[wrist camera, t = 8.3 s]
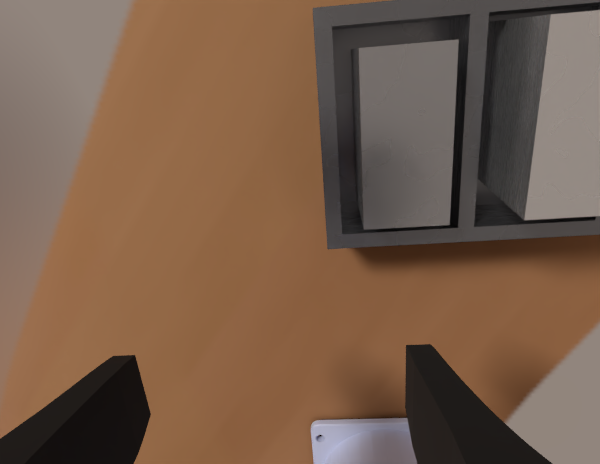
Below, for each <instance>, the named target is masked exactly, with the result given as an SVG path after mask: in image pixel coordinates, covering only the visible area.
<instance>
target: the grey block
mask: <svg viewBox="0 0 600 464" xmlns="http://www.w3.org/2000/svg"><path fill="white" fill-rule="evenodd" d="M477 179H478V180H479V181H480V182H482V183H483V184H484V185H485V186H486V187H487V188H488V189H489V190H491V191H492V192H493V193H494V194H495V195H496V196H497V197H499V198H500V199H501V200H502V201H503V202H504V203H505V204H506V205H508V206H509V207H510V208H511V209H512V210H513V211H514V212H516V213H517V214H518V215H519V216H520V217H521V218H522V219H523V220H538V219H555V218H573V217H591V216H600V10H595V11H584V12H572V13H561V14H550V15H542V16H533V17H525V18H516V19H508V20H500V21H491V22H488V36H487V50H486V65H485V79H484V93H483V107H482V121H481V135H480V149H479V163H478V177H477Z"/></svg>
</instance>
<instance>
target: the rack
mask: <svg viewBox="0 0 600 464" xmlns="http://www.w3.org/2000/svg"><path fill="white" fill-rule="evenodd" d="M595 10H600V0H392V1H382V2H371V3H361V4H350V5H339V6H329V7H318V8H313V21H314V37H315V53H316V69H317V85H318V102H319V118H320V134H321V150H322V166H323V182H324V198H325V214H326V231H327V247H328V249H339V248H358V247H376V246H395V245H414V244H433V243H451V242H470V241H489V240H507V239H526V238H545V237H564V236H582V235H600V216H591V217H573V218H555V219H538V220H523V219H522V218H521V217H520V216H519V215H518V214H517V213H516V212H514V211H513V210H512V209H511V208H510V207H509V206H508V205H506V204H505V203H504V202H503V201H502V200H501V199H500V198H499V197H497V196H496V195H495V194H494V193H493V192H492V191H491V190H489V189H488V188H487V187H486V186H485V185H484V184H483V183H482V182H480V181H479V180H478V179H477V177H478V163H479V149H480V135H481V121H482V107H483V93H484V79H485V65H486V50H487V36H488V22H491V21H500V20H508V19H516V18H525V17H533V16H542V15H550V14H561V13H572V12H584V11H595Z"/></svg>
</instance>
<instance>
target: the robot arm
mask: <svg viewBox="0 0 600 464" xmlns="http://www.w3.org/2000/svg"><path fill="white" fill-rule="evenodd" d="M405 408H406V414H407V418H382V419H342V420H317V421H314V422H313V423H312V424H311V439H312V449H313V460H314V464H552V463H551V462H549V461H548V460H547V459H545V458H544V457H543V456H542V455H541V454H539V453H538V452H537V451H536V450H534V449H533V448H532V447H531V446H529V445H528V444H527V443H526V442H525V441H524V440H523V439H521V438H520V437H519V436H518V435H517V434H516V433H515V432H514V431H512V430H511V429H510V428H509V427H508V426H507V425H506V424H505V423H504V422H503V421H502V420H501V419H499V418H498V417H497V416H496V415H495V414H494V413H493V412H492V411H491V410H490V409H489V408H488V407H487V406H486V405H485V404H484V403H483V402H482V401H481V400H480V399H479V398H478V397H477V396H476V395H475V394H474V393H473V391H472V390H471V389H470V388H469V387H468V386H467V385H466V384H465V383H464V382H463V381H462V380H461V379H460V377H459V376H458V375H457V374H456V373H455V372H454V371H453V370H452V368H451V367H450V366H449V365H448V364H447V363H446V361H445V360H444V359H443V358H442V357H441V355H440V354H439V353H438V352H437V351H436V349H435V348H434V347H433V346H432V345H430V344H426V345H406V402H405ZM150 415H151V414H150V410H149V406H148V402H147V399H146V395H145V391H144V387H143V384H142V380H141V376H140V372H139V368H138V365H137V361H136V357H135V355H128V356H113V357H111V358H110V359H108V360H107V361H105V362H104V363H102V364H101V365H100V366H98V367H97V368H96V369H94V370H93V371H92V372H90V373H89V374H88V375H86V376H85V377H84V378H82V379H81V380H80V381H79V382H77V383H76V384H75V385H73V386H72V387H71V388H69V389H68V390H67V391H65V392H64V393H63V394H62V395H60V396H59V397H58V398H56V399H55V400H54V401H52V402H51V403H50V404H48V405H47V406H46V407H44V408H43V409H42V410H40V411H39V412H37V413H36V414H35V415H33V416H32V417H30V418H29V419H28V420H26V421H25V422H23V423H22V424H21V425H19V426H18V427H16V428H15V429H14V430H12V431H11V432H9V433H8V434H7V435H5V436H4V437H2V438H1V439H0V464H134V461H135V459H136V457H137V455H138V452H139V450H140V447H141V444H142V441H143V438H144V435H145V432H146V428H147V425H148V422H149V418H150ZM318 435H323V436H318Z"/></svg>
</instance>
